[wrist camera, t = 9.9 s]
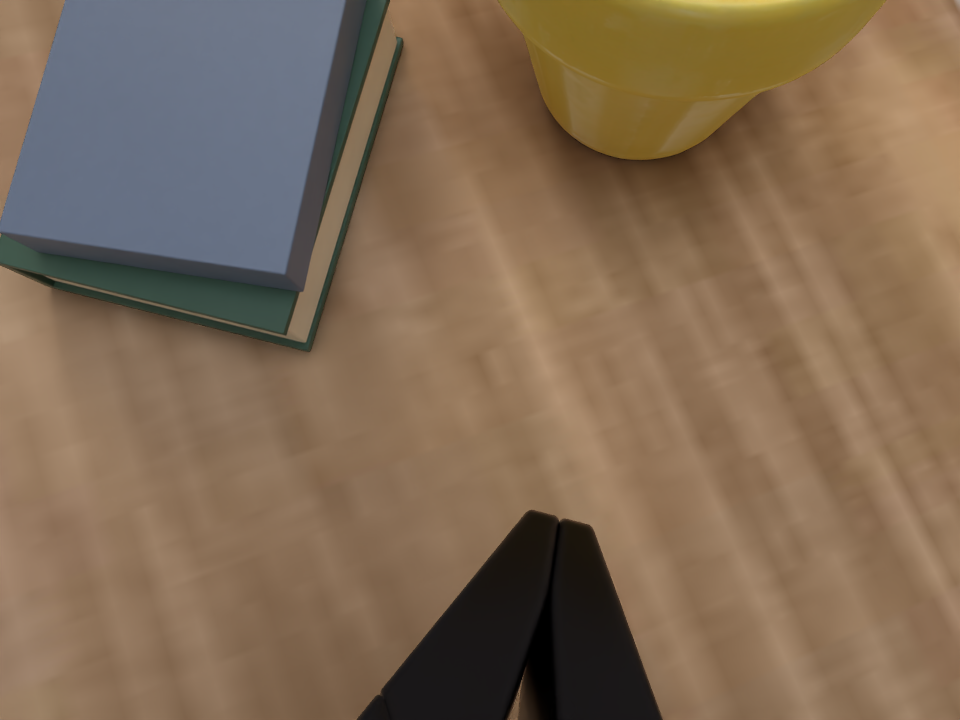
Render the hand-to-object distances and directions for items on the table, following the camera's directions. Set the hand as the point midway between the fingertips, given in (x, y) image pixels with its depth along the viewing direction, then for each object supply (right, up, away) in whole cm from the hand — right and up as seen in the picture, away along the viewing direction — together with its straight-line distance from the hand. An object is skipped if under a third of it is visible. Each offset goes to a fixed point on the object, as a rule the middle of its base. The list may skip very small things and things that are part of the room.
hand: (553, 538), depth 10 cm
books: (-9, +9, +15) cm, 20 cm away
